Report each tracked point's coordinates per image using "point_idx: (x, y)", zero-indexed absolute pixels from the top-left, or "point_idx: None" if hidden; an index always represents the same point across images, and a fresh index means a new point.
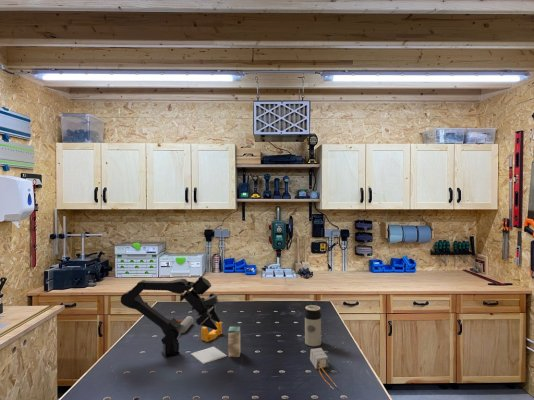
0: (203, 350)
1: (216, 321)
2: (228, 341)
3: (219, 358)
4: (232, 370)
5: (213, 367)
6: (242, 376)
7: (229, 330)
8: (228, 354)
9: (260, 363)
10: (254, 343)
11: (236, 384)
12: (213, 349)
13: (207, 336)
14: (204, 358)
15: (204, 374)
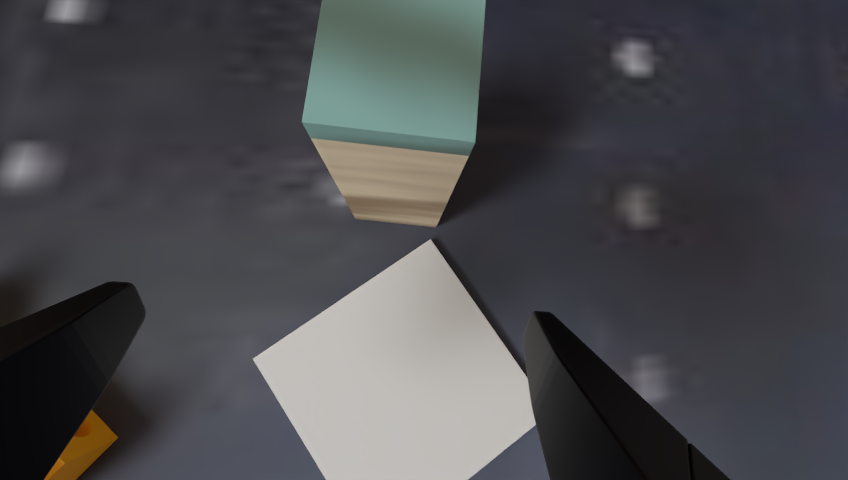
0: (323, 443)
1: (114, 373)
2: (452, 191)
3: (465, 291)
4: (630, 194)
5: (593, 323)
6: (697, 135)
7: (468, 124)
8: (436, 223)
9: (540, 28)
10: (228, 42)
11: (783, 169)
12: (313, 354)
13: (66, 452)
14: (476, 411)
15: (688, 376)
